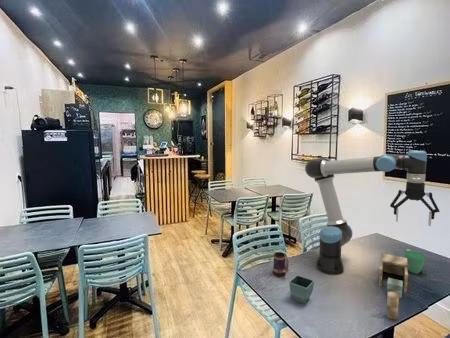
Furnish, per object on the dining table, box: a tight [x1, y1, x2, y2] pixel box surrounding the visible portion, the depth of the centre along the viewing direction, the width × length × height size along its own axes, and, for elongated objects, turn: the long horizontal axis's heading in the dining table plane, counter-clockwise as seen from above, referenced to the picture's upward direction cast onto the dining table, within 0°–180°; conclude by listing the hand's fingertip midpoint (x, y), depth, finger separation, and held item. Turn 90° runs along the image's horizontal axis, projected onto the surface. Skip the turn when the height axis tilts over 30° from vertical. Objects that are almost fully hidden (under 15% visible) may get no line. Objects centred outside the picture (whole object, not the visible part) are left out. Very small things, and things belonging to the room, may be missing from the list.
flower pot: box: [288, 274, 315, 304], centre depth 124 cm, size 9×9×9 cm
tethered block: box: [385, 277, 404, 321], centre depth 120 cm, size 6×25×10 cm, turn 145°
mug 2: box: [404, 248, 427, 275], centre depth 151 cm, size 15×10×10 cm
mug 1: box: [272, 251, 290, 278], centre depth 146 cm, size 10×7×12 cm
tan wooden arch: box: [378, 253, 409, 294], centre depth 139 cm, size 12×19×10 cm, turn 147°
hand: (412, 223), depth 135 cm, fingers open, 13 cm apart
